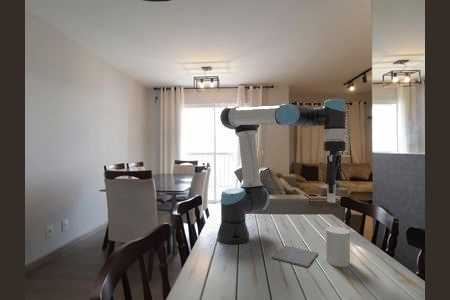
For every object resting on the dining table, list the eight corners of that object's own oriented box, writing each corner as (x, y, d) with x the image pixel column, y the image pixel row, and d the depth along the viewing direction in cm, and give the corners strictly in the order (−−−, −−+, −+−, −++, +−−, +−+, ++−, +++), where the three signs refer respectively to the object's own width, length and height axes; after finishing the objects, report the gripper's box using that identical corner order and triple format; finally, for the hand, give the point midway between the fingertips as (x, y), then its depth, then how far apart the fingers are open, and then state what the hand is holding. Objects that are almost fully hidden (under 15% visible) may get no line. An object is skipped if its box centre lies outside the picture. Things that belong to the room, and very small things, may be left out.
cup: (352, 267, 91) (352, 234, 91) (328, 265, 92) (328, 233, 92) (346, 258, 99) (346, 227, 99) (324, 256, 100) (324, 226, 100)
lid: (317, 193, 95) (317, 184, 94) (323, 190, 103) (323, 181, 103) (346, 196, 89) (346, 186, 89) (351, 192, 97) (351, 183, 97)
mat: (271, 258, 99) (271, 256, 99) (284, 246, 110) (284, 245, 110) (307, 267, 91) (307, 266, 91) (317, 254, 103) (317, 252, 103)
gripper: (339, 140, 84) (339, 206, 84) (350, 141, 103) (349, 195, 103) (316, 140, 88) (316, 203, 89) (330, 141, 107) (330, 193, 107)
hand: (334, 199), depth 96 cm, fingers closed on lid, 10 cm apart
